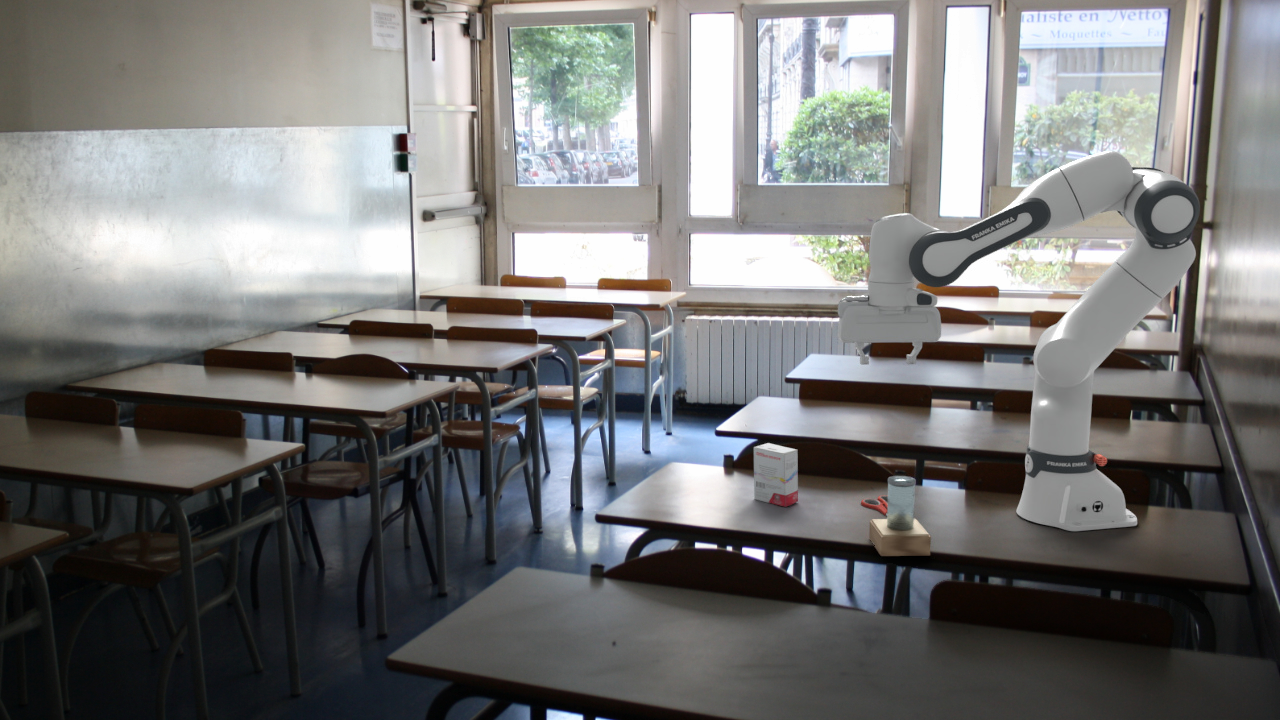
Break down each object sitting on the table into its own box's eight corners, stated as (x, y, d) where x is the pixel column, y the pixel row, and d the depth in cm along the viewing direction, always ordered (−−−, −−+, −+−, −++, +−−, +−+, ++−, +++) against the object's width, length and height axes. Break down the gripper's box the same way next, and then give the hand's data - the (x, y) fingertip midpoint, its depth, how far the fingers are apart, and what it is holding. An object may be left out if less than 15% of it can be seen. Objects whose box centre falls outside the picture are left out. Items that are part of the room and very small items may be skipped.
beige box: (915, 538, 192) (916, 518, 192) (930, 555, 183) (930, 534, 183) (869, 538, 192) (869, 518, 191) (881, 556, 183) (881, 535, 183)
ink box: (799, 503, 214) (800, 449, 212) (784, 508, 210) (785, 453, 208) (767, 494, 220) (767, 441, 218) (752, 499, 216) (752, 446, 214)
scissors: (896, 536, 194) (896, 529, 194) (856, 502, 215) (856, 496, 214) (933, 534, 196) (933, 527, 195) (890, 500, 216) (890, 494, 216)
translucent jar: (909, 521, 190) (910, 475, 188) (917, 530, 185) (919, 482, 183) (883, 522, 189) (884, 476, 188) (890, 530, 184) (892, 483, 183)
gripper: (841, 298, 196) (839, 367, 199) (945, 297, 197) (942, 366, 199) (834, 294, 202) (833, 361, 205) (935, 293, 203) (932, 360, 205)
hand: (887, 364), depth 202 cm, fingers open, 8 cm apart
